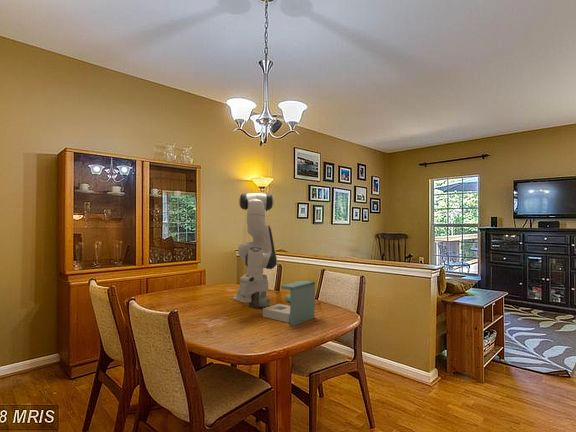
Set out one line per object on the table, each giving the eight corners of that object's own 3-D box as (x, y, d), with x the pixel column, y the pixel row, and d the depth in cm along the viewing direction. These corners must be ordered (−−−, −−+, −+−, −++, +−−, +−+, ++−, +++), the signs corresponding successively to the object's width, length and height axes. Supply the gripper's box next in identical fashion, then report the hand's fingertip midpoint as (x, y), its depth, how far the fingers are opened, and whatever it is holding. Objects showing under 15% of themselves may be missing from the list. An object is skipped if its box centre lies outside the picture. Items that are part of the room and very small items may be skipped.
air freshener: (258, 304, 218) (259, 288, 218) (270, 305, 215) (271, 289, 215) (251, 308, 208) (251, 291, 208) (264, 309, 205) (264, 292, 205)
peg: (248, 307, 192) (249, 291, 192) (253, 306, 195) (254, 290, 195) (253, 308, 190) (254, 292, 190) (258, 307, 193) (259, 291, 193)
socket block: (262, 316, 190) (262, 308, 190) (278, 311, 201) (278, 303, 201) (288, 322, 179) (288, 314, 179) (303, 316, 190) (303, 308, 190)
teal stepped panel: (280, 323, 178) (281, 285, 179) (302, 314, 194) (302, 280, 195) (293, 326, 174) (293, 287, 174) (314, 317, 190) (314, 282, 190)
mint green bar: (285, 291, 228) (304, 299, 206) (293, 294, 231) (312, 301, 208) (282, 300, 227) (300, 308, 205) (290, 302, 229) (308, 311, 207)
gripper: (263, 273, 203) (262, 296, 203) (237, 277, 186) (236, 303, 187) (271, 274, 199) (270, 298, 199) (246, 279, 183) (245, 305, 183)
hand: (253, 301), depth 193 cm, fingers closed on peg, 4 cm apart
